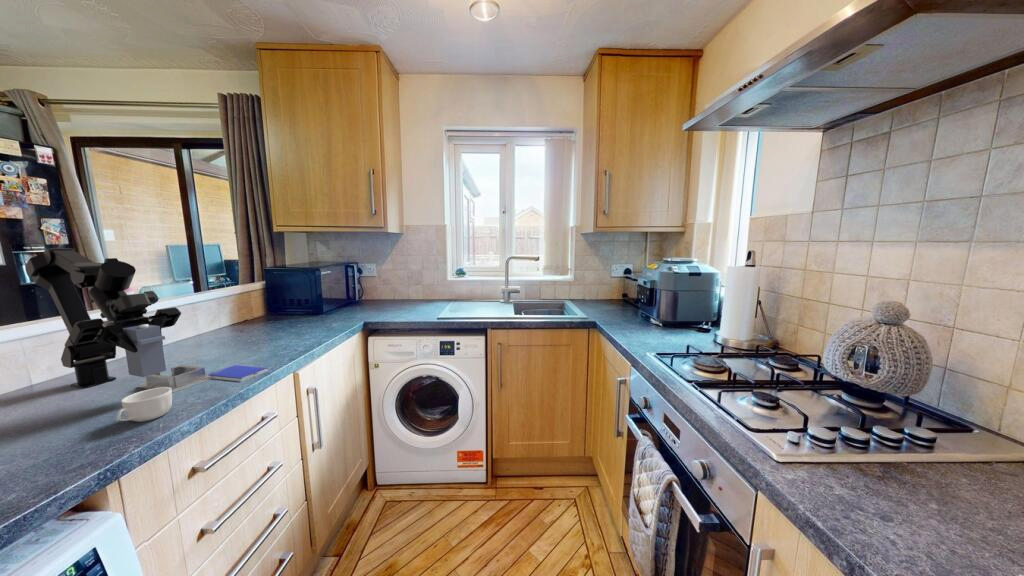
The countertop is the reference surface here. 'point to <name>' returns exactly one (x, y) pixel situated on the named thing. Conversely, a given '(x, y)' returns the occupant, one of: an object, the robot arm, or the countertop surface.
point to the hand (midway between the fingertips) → (149, 348)
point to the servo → (145, 350)
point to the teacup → (146, 404)
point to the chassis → (177, 378)
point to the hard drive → (238, 373)
